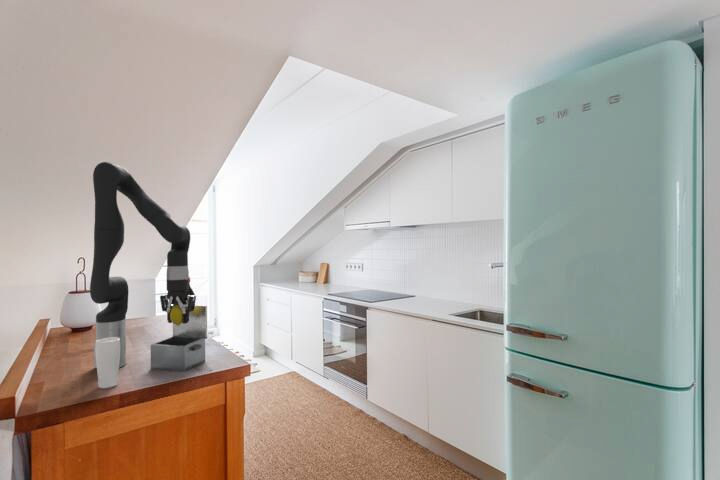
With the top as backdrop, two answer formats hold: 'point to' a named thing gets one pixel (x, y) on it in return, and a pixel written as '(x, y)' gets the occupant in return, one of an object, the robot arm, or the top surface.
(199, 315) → the lid
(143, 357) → the top surface
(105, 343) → the drinking glass
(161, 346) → the storage box
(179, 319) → the lemon
